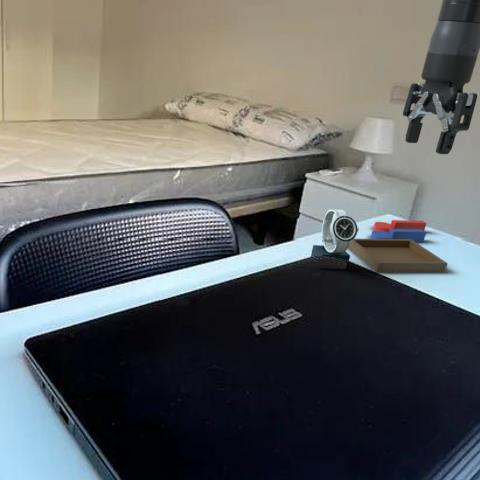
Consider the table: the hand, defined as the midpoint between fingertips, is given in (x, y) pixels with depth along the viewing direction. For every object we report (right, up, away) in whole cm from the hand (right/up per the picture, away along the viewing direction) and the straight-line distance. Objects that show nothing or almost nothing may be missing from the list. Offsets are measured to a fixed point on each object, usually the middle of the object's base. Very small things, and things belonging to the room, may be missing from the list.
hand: (425, 147), depth 90 cm
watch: (-15, -22, +6) cm, 27 cm away
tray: (-1, -21, +11) cm, 23 cm away
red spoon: (+7, -15, +26) cm, 31 cm away
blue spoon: (+4, -17, +21) cm, 27 cm away
